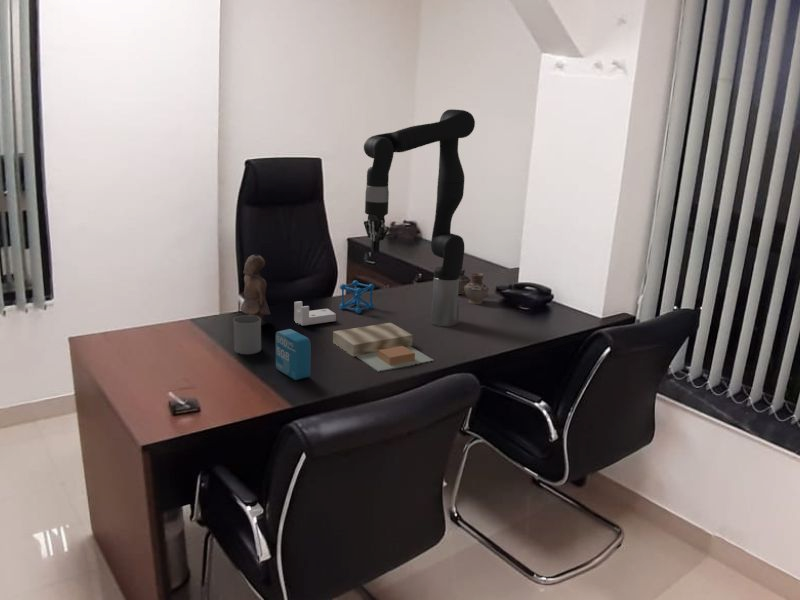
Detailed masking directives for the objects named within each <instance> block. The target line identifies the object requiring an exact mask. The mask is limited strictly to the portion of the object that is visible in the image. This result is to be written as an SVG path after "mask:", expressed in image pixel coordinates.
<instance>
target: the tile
mask: <svg viewBox="0 0 800 600" xmlns="http://www.w3.org/2000/svg"><path fill="white" fill-rule="evenodd" d="M378 358H379V359H381V360H382V361H384V362H385V363H387V364H389V365H394V364H399V363H404V362H409V361H415V353H414V352H412V351H411V350H409V349H407V348H406V347H404V346H399V347H393V348H388V349H382V350H378Z"/></svg>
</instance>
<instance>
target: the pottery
mask: <svg viewBox="0 0 800 600" xmlns="http://www.w3.org/2000/svg"><path fill="white" fill-rule="evenodd" d="M465 269H466V268H464V267H462V270H461V272H460V276H459V289H458V294H462V295H463V294H464V293H465V296H466V297H467V298H468V301H467V302H468V303H469V304H472V305H482V304H483V300H484V299H485V298H486V296H487V294H488V292H489V287H488V286H487V285H486V284H484V283H483V278H484V273H480V272H472V273H470V275H471V278H469V277H468V276H467V275H465V272H466V270H465Z"/></svg>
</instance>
